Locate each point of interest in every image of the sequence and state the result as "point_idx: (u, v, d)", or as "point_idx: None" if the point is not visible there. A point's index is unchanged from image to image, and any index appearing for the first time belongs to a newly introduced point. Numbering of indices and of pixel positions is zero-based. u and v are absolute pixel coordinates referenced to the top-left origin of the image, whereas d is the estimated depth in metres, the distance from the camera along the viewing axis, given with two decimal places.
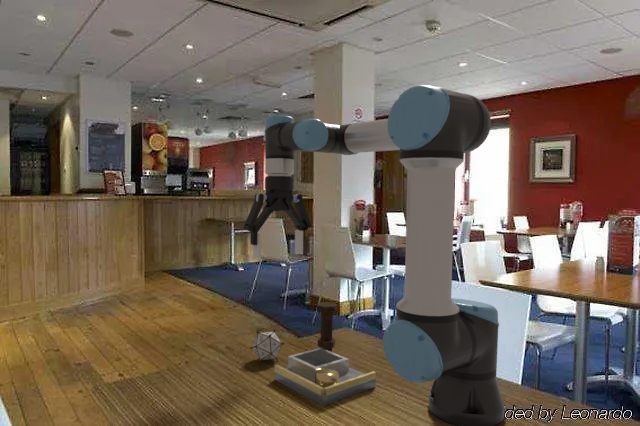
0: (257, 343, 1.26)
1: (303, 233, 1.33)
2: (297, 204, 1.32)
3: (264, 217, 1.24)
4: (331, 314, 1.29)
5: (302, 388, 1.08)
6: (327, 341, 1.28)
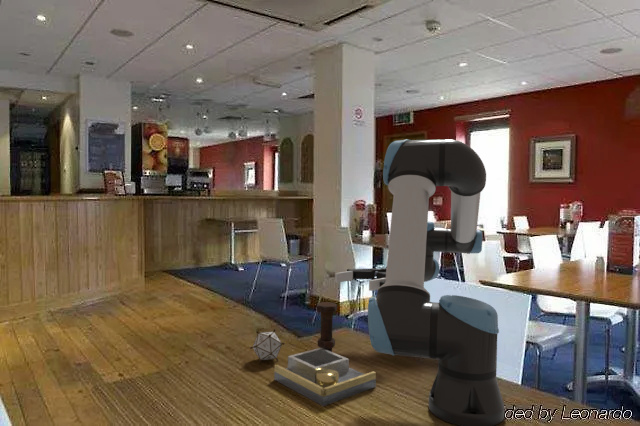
0: (257, 343, 1.26)
1: None
2: None
3: (364, 270, 1.46)
4: (331, 314, 1.29)
5: (302, 388, 1.08)
6: (327, 341, 1.28)
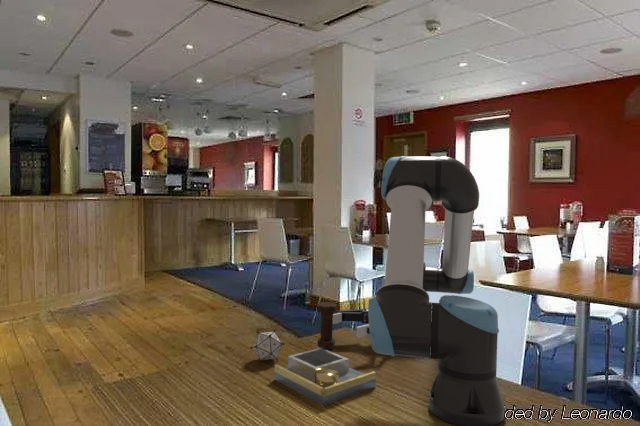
0: (257, 343, 1.26)
1: None
2: None
3: (353, 312, 1.45)
4: (331, 314, 1.29)
5: (302, 388, 1.08)
6: (327, 341, 1.28)
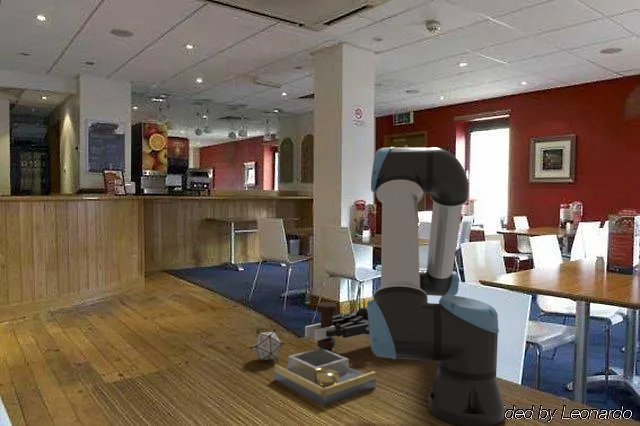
0: (257, 343, 1.26)
1: (334, 329, 1.28)
2: None
3: (335, 319, 1.36)
4: (331, 314, 1.29)
5: (302, 388, 1.08)
6: (327, 341, 1.28)
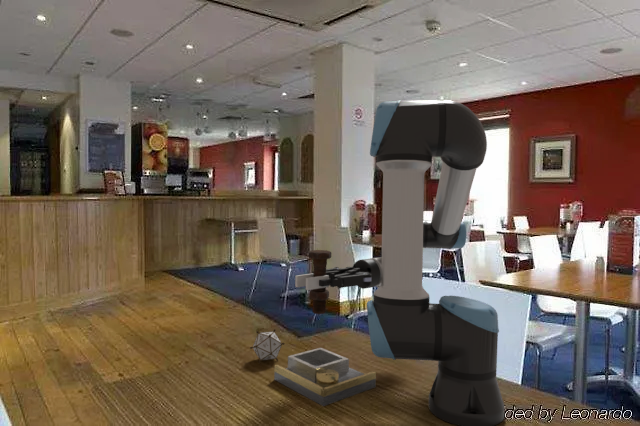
0: (257, 343, 1.26)
1: (328, 279, 1.14)
2: None
3: (330, 271, 1.22)
4: (325, 262, 1.15)
5: (302, 388, 1.08)
6: (320, 292, 1.15)
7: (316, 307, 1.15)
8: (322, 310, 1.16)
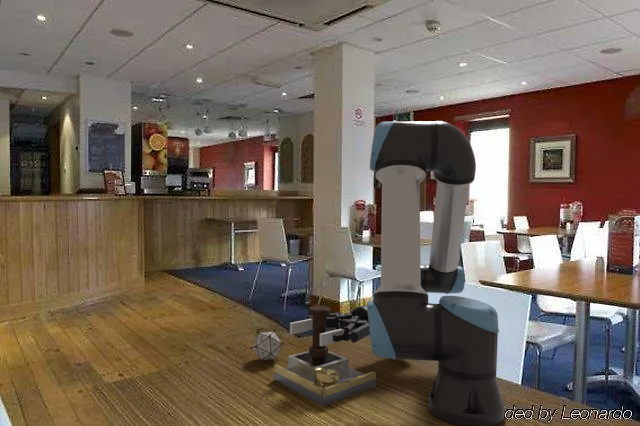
0: (257, 343, 1.26)
1: (341, 333, 1.13)
2: None
3: None
4: (324, 319, 1.16)
5: (302, 388, 1.08)
6: (319, 349, 1.16)
7: (315, 364, 1.16)
8: None
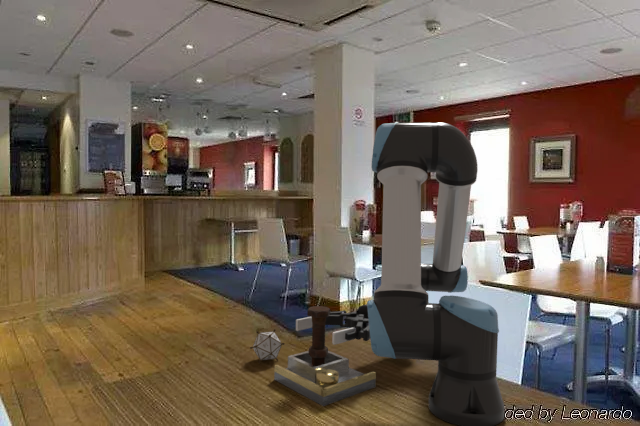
0: (257, 343, 1.26)
1: (353, 332, 1.14)
2: None
3: (331, 315, 1.27)
4: (324, 320, 1.16)
5: (302, 388, 1.08)
6: (319, 350, 1.15)
7: (315, 364, 1.16)
8: None
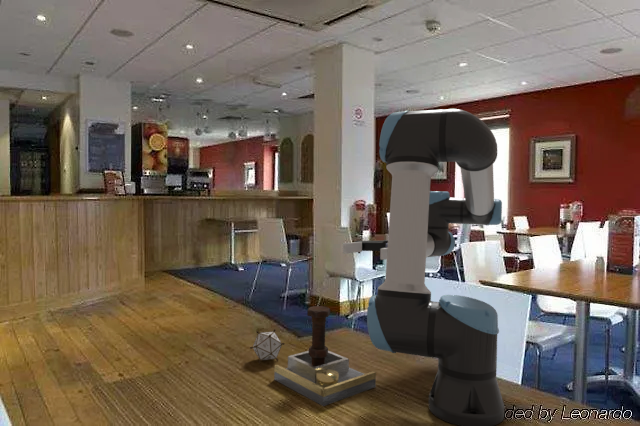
0: (257, 343, 1.26)
1: None
2: None
3: (374, 242, 1.35)
4: (323, 320, 1.16)
5: (302, 388, 1.08)
6: (319, 350, 1.15)
7: (315, 364, 1.16)
8: None
